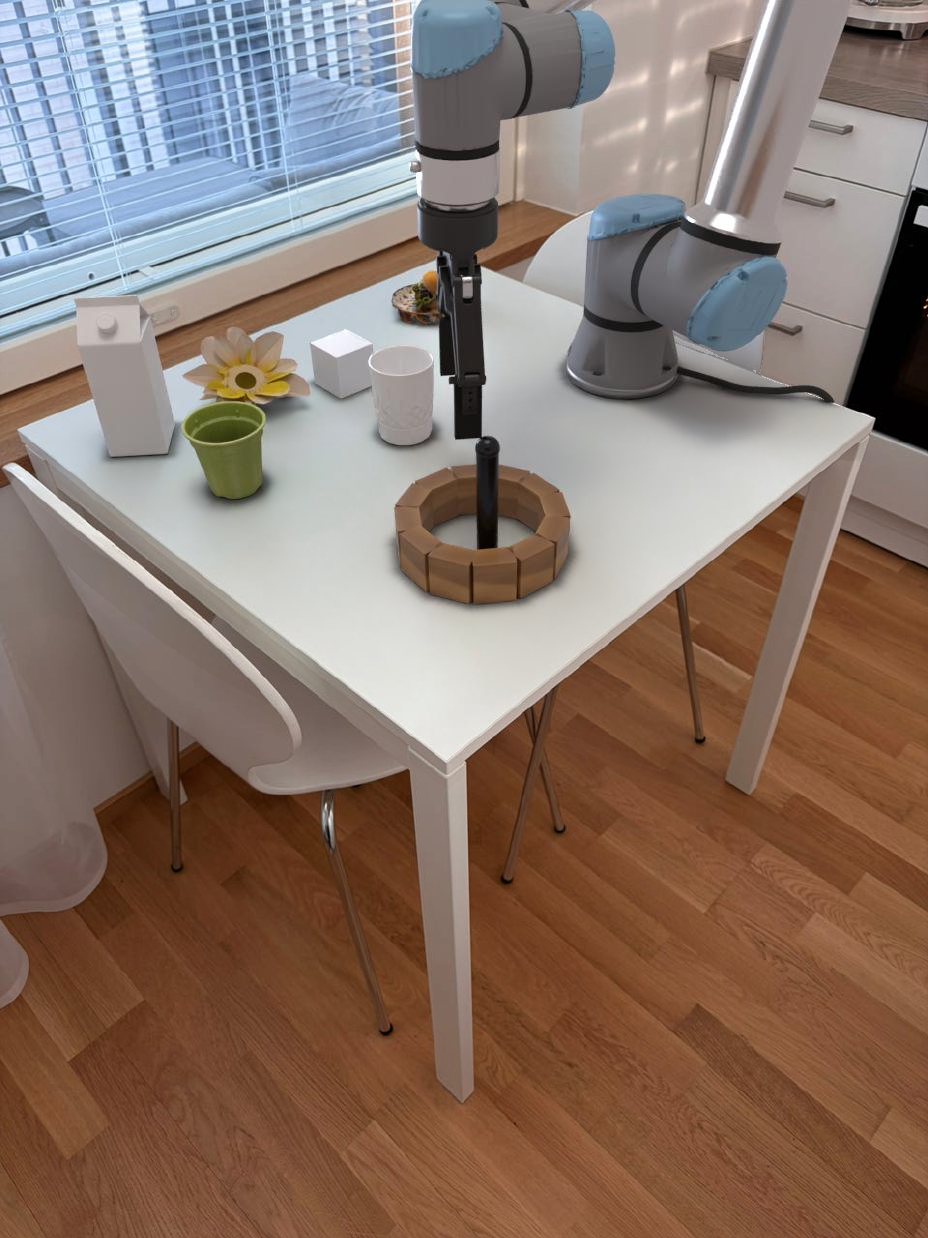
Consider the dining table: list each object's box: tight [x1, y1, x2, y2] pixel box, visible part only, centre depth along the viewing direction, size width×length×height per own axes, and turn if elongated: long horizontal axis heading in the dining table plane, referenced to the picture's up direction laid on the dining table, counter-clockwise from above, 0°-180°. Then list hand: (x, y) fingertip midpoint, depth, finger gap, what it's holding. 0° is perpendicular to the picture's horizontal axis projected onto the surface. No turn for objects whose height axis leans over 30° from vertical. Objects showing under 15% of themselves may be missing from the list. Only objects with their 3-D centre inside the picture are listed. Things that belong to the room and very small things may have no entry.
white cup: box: [369, 344, 435, 446], centre depth 123 cm, size 8×8×10 cm
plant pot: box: [180, 401, 267, 500], centre depth 115 cm, size 9×9×9 cm
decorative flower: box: [181, 325, 312, 406], centre depth 128 cm, size 15×11×10 cm
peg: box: [474, 435, 501, 550], centre depth 100 cm, size 4×4×16 cm
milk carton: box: [73, 294, 176, 457], centre depth 119 cm, size 7×7×19 cm
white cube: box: [309, 328, 375, 400], centre depth 134 cm, size 6×6×6 cm
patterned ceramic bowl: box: [390, 269, 443, 325], centre depth 151 cm, size 12×12×8 cm
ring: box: [393, 463, 572, 605], centre depth 106 cm, size 18×18×5 cm
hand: (459, 404), depth 105 cm, fingers open, 13 cm apart
